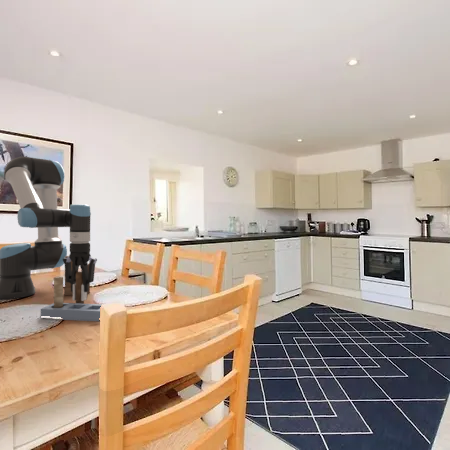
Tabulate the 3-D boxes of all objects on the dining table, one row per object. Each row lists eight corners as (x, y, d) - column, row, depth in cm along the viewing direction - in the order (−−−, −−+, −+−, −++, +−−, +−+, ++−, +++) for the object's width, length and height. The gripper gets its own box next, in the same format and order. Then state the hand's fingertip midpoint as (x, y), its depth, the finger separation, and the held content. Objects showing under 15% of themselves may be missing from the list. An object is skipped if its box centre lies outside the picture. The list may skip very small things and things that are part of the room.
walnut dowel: (74, 306, 118) (74, 272, 117) (78, 304, 121) (78, 271, 120) (81, 307, 118) (81, 272, 117) (85, 304, 120) (85, 271, 120)
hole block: (40, 318, 104) (40, 308, 103) (55, 311, 112) (55, 302, 111) (100, 321, 102) (100, 311, 102) (110, 313, 110) (110, 304, 110)
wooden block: (89, 293, 139) (89, 255, 138) (64, 295, 134) (64, 256, 134) (89, 291, 142) (89, 254, 142) (64, 293, 137) (64, 255, 137)
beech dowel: (51, 316, 106) (51, 278, 106) (57, 314, 109) (57, 276, 109) (59, 317, 106) (59, 278, 105) (64, 314, 109) (65, 276, 108)
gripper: (55, 242, 115) (55, 301, 116) (94, 243, 114) (93, 303, 115) (66, 241, 123) (66, 296, 123) (103, 242, 122) (103, 297, 122)
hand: (79, 299), depth 119 cm, fingers closed on walnut dowel, 3 cm apart
